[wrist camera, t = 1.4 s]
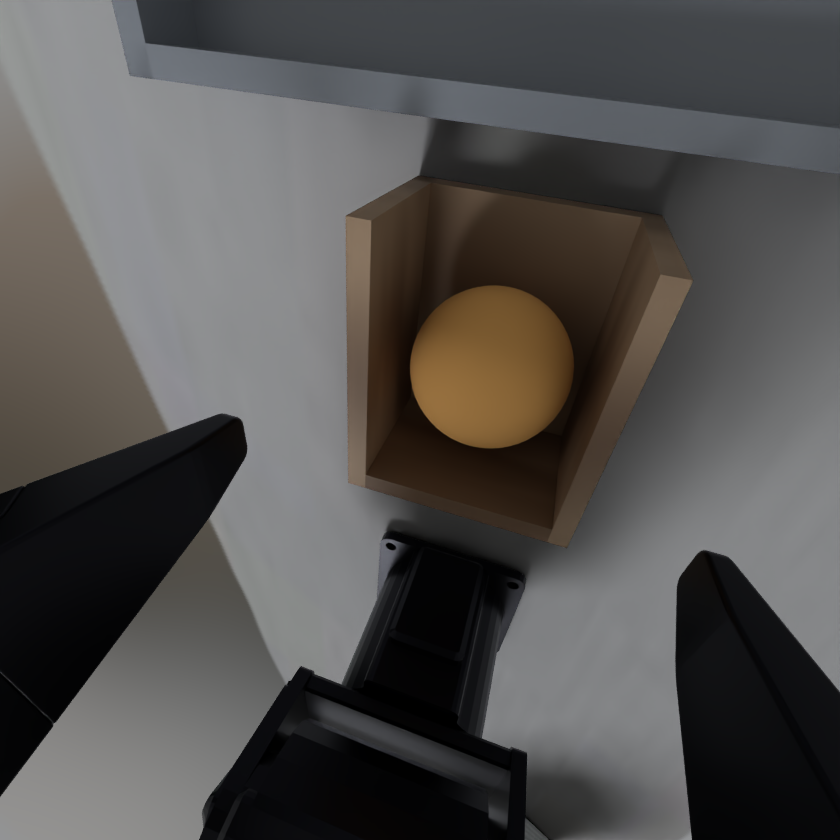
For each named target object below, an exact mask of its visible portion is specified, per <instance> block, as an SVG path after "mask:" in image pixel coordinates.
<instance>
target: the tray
mask: <svg viewBox="0 0 840 840" xmlns="http://www.w3.org/2000/svg"><path fill="white" fill-rule="evenodd" d="M112 4H113V8H114V12H115V16H116V20H117V24H118V28H119V33H120V37H121V41H122V45H123V49H124V53H125V57H126V61H127V66H128V70H129V74H130V76H136V77H143V78H150V79H157V80H165V81H172V82H179V83H186V84H193V85H201V86H208V87H215V88H222V89H229V90H236V91H244V92H251V93H258V94H265V95H272V96H280V97H287V98H294V99H301V100H308V101H316V102H323V103H330V104H337V105H344V106H351V107H359V108H366V109H373V110H380V111H387V112H395V113H402V114H409V115H416V116H423V117H431V118H438V119H445V120H452V121H459V122H466V123H474V124H481V125H488V126H495V127H502V128H510V129H517V130H524V131H531V132H538V133H546V134H553V135H560V136H567V137H574V138H581V139H589V140H596V141H603V142H610V143H617V144H625V145H632V146H639V147H646V148H653V149H661V150H668V151H675V152H682V153H689V154H696V155H704V156H711V157H718V158H725V159H732V160H740V161H747V162H754V163H761V164H768V165H775V166H783V167H790V168H797V169H804V170H811V171H819V172H826V173H833V174H840V0H112Z"/></svg>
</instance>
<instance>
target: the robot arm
mask: <svg viewBox="0 0 840 840" xmlns="http://www.w3.org/2000/svg"><path fill="white" fill-rule="evenodd" d="M246 454H247V442H246V437H245V432H244V426H243V422H242V421H241V419H240V418H238V417H235V416H231V415H228V414H218V415H215V416H212V417H210V418H207V419H204V420H201V421H199V422H196V423H193V424H190V425H188V426H185V427H182V428H179V429H177V430H174V431H171V432H168V433H166V434H163V435H160V436H158V437H155V438H152V439H150V440H147V441H144V442H141V443H138V444H136V445H133V446H130V447H127V448H125V449H122V450H119V451H117V452H114V453H111V454H108V455H106V456H103V457H100V458H97V459H95V460H92V461H89V462H86V463H84V464H81V465H78V466H75V467H73V468H70V469H67V470H64V471H62V472H59V473H56V474H53V475H51V476H48V477H45V478H43V479H40V480H37V481H34V482H32V483H29V484H27V485H26V486H25V487H24V486H20V487H18V488H15V489H12V490H9V491H7V492H4V493H1V494H0V796H1V795H2V794H3V792H4V791H5V790H6V788H7V787H8V786H9V784H10V783H11V782H12V780H13V779H14V778H15V776H16V775H17V774H18V772H19V771H20V770H21V769H22V767H23V766H24V764H25V763H26V762H27V760H28V759H29V758H30V756H31V755H32V754H33V753H34V751H35V750H36V749H37V747H38V746H39V745H40V743H41V742H42V740H43V739H44V738H45V737H46V735H47V734H48V733H49V731H50V730H51V729H52V727H53V723H55V722H56V721H57V720H58V719H59V717H60V716H61V714H62V713H63V712H64V711H65V709H66V708H67V707H68V705H69V704H70V703H71V701H72V700H73V699H74V697H75V696H76V695H77V693H78V692H79V691H80V689H81V688H82V687H83V685H84V684H85V683H86V681H87V680H88V678H89V677H90V676H91V675H92V673H93V672H94V671H95V669H96V668H97V667H98V665H99V664H100V663H101V661H102V660H103V659H104V657H105V656H106V655H107V653H108V652H109V651H110V649H111V648H112V647H113V645H114V644H115V643H116V641H117V640H118V639H119V637H120V636H121V635H122V633H123V632H124V631H125V629H126V628H127V627H128V625H129V624H130V623H131V621H132V620H133V619H134V617H135V616H136V615H137V613H138V612H139V611H140V609H141V608H142V607H143V605H144V604H145V603H146V601H147V600H148V599H149V597H150V596H151V595H152V593H153V592H154V591H155V589H156V588H157V587H158V585H159V584H160V583H161V581H162V580H163V579H164V577H165V576H166V575H167V573H168V572H169V571H170V569H171V568H172V567H173V565H174V564H175V563H176V561H177V560H178V559H179V557H180V556H181V555H182V553H183V552H184V551H185V549H186V548H187V547H188V545H189V544H190V543H191V541H192V540H193V539H194V537H195V536H196V535H197V533H198V532H199V531H200V529H201V528H202V527H203V525H204V524H205V523H206V521H207V520H208V518H209V517H210V515H211V514H212V512H213V511H214V509H215V508H216V506H217V504H218V503H219V501H220V499H221V498H222V496H223V494H224V493H225V491H226V489H227V488H228V486H229V484H230V483H231V481H232V479H233V477H234V476H235V474H236V472H237V471H238V469H239V467H240V466H241V464H242V462H243V461H244V459H245V457H246ZM525 583H526V578H525V576H524V575H523V574H522V573H520V572H518V571H515V570H512V569H509V568H506V567H503V566H499V565H496V564H493V563H490V562H487V561H483V560H480V559H477V558H474V557H471V556H467V555H464V554H461V553H458V552H455V551H452V550H448V549H445V548H442V547H439V546H436V545H432V544H429V543H426V542H423V541H420V540H416V539H413V538H410V537H407V536H404V535H400V534H397V533H394V532H387V533H385V534H384V536H383V538H382V540H381V543H380V558H379V575H378V592H377V601H376V603H375V606H374V608H373V611H372V613H371V615H370V618H369V620H368V622H367V625H366V627H365V630H364V632H363V634H362V637H361V639H360V641H359V644H358V646H357V649H356V651H355V653H354V656H353V658H352V660H351V663H350V665H349V668H348V670H347V672H346V675H345V677H344V680H343V682H342V684H339V683H336V682H333V681H331V680H328V679H326V678H323V677H320V676H318V675H315V674H314V671H312V670H310V669H307V668H305V667H302V666H301V667H300V668H299V669H298V670H297V672H296V674H295V675H294V677H293V678H292V680H291V681H288V683H287V685H285V686H284V688H283V689H282V691H281V692H280V694H279V695H278V697H277V698H276V700H275V701H274V703H273V705H272V706H271V708H270V709H269V711H268V712H267V714H266V716H265V717H264V719H263V720H262V722H261V723H260V725H259V726H258V728H257V730H256V731H255V733H254V734H253V736H252V737H251V739H250V740H249V742H248V743H247V745H246V747H245V748H244V750H243V751H242V753H241V755H240V756H239V758H238V759H237V761H236V762H235V764H234V765H233V767H232V768H231V770H230V771H229V772H228V773H227V774H226V776H225V777H224V778H223V780H222V781H221V782H220V783H219V785H218V786H217V787H216V788H215V790H214V791H213V792H212V793H211V795H210V796H209V798H208V799H207V801H206V803H205V806H204V808H203V811H202V818H203V827H204V828H203V831H202V834H201V836H200V839H199V840H525V810H526V776H527V753H526V752H524V751H521V750H519V749H516V748H513V747H511V748H510V749H508V748H505V747H502V746H500V745H497V744H495V743H492V742H489V741H487V740H484V739H482V734H483V728H484V722H485V717H486V711H487V705H488V699H489V694H490V688H491V682H492V676H493V671H494V665H495V659H496V653H497V652H498V651H499V649H500V647H501V644H502V642H503V640H504V637H505V635H506V632H507V630H508V628H509V625H510V623H511V621H512V618H513V616H514V613H515V611H516V609H517V606H518V604H519V601H520V599H521V597H522V594H523V592H524V589H525ZM675 663H676V685H677V695H678V705H679V715H680V725H681V735H682V745H683V755H684V765H685V775H686V785H687V795H688V805H689V814H690V824H691V834H692V840H840V692H839V690H838V689H837V688H836V687H835V685H834V684H833V683H832V682H831V681H830V679H829V678H828V677H827V676H826V675H825V673H824V672H823V671H822V670H821V668H820V667H819V666H818V665H817V664H816V662H815V661H814V660H813V659H812V657H811V656H810V655H809V654H808V653H807V651H806V650H805V649H804V648H803V646H802V645H801V644H800V643H799V642H798V640H797V639H796V638H795V637H794V635H793V634H792V633H791V632H790V631H789V629H788V628H787V627H786V626H785V624H784V623H783V622H782V621H781V620H780V618H779V617H778V616H777V615H776V613H775V612H774V611H773V610H772V609H771V607H770V606H769V605H768V604H767V602H766V601H765V600H764V599H763V598H762V596H761V595H760V594H759V593H758V591H757V590H756V589H755V588H754V587H753V585H752V584H751V583H750V582H749V580H748V579H747V578H746V577H745V576H744V574H743V573H742V572H741V571H740V570H739V568H738V567H737V566H736V565H735V563H734V562H733V561H732V560H731V559H730V558H729V557H727V556H724V555H721V554H717V553H714V552H710V551H707V550H703V551H700V552H699V553H698V554H697V555H696V556H695V557H694V559H693V560H692V561H691V563H690V564H689V565H688V567H687V568H686V569H685V571H684V572H683V573H682V574H681V576H680V578H679V580H678V584H677V605H676V655H675Z"/></svg>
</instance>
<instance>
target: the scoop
mask: <svg viewBox="0 0 840 840" xmlns="http://www.w3.org/2000/svg"><path fill="white" fill-rule="evenodd" d="M692 282H693V279H692V277H691V274H690V272H689V270H688V268H687V266H686V264H685V262H684V260H683V258H682V255H681V253H680V251H679V249H678V247H677V245H676V243H675V241H674V239H673V237H672V234H671V232H670V230H669V228H668V226H667V224H666V222H665V220H664V218H663V215H657V214H651V213H645V212H639V211H633V210H626V209H620V208H614V207H608V206H602V205H596V204H590V203H584V202H578V201H571V200H565V199H559V198H553V197H547V196H541V195H535V194H529V193H523V192H517V191H510V190H504V189H498V188H492V187H486V186H480V185H474V184H468V183H462V182H455V181H449V180H443V179H437V178H431V177H425V176H417V177H415V178H414V179H412V180H410V181H408V182H406V183H404V184H403V185H401V186H399V187H397V188H395V189H394V190H392V191H390V192H388V193H386V194H385V195H383V196H381V197H379V198H377V199H375V200H374V201H372V202H370V203H368V204H366V205H365V206H363V207H361V208H359V209H357V210H356V211H354V212H352V213H350V214H348V215H346V295H347V396H348V483H351V484H354V485H357V486H361V487H364V488H367V489H371V490H374V491H378V492H381V493H384V494H388V495H391V496H394V497H398V498H401V499H404V500H408V501H411V502H414V503H418V504H421V505H424V506H428V507H431V508H434V509H438V510H441V511H444V512H448V513H451V514H454V515H458V516H461V517H465V518H468V519H471V520H475V521H478V522H481V523H485V524H488V525H491V526H495V527H498V528H501V529H505V530H508V531H511V532H515V533H518V534H521V535H525V536H528V537H531V538H535V539H538V540H542V541H545V542H548V543H552V544H555V545H558V546H562V547H565V548H567V547H568V545H569V542H570V540H571V538H572V536H573V534H574V532H575V530H576V528H577V525H578V523H579V521H580V519H581V517H582V515H583V513H584V511H585V509H586V506H587V504H588V502H589V500H590V498H591V496H592V494H593V492H594V490H595V487H596V485H597V483H598V481H599V479H600V477H601V475H602V473H603V471H604V468H605V466H606V464H607V462H608V460H609V458H610V456H611V454H612V452H613V449H614V447H615V445H616V443H617V441H618V439H619V437H620V435H621V433H622V430H623V428H624V426H625V424H626V422H627V420H628V418H629V416H630V413H631V411H632V409H633V407H634V405H635V403H636V401H637V399H638V397H639V394H640V392H641V390H642V388H643V386H644V384H645V382H646V380H647V378H648V375H649V373H650V371H651V369H652V367H653V365H654V363H655V361H656V359H657V356H658V354H659V352H660V350H661V348H662V346H663V344H664V342H665V340H666V337H667V335H668V333H669V331H670V329H671V327H672V325H673V323H674V321H675V318H676V316H677V314H678V312H679V310H680V308H681V306H682V304H683V301H684V299H685V297H686V295H687V293H688V291H689V289H690V287H691V285H692ZM488 285H499V286H507V287H512V288H516V289H519V290H522V291H524V292H527V293H529V294H531V295H533V296H534V297H536V298H538V299H539V300H541V301H542V302H543V303H545V304H546V305H547V306H548V307H549V308H550V309H551V310H552V311H553V312H554V313H555V314H556V315H557V317H558V318H559V320H560V321H561V323H562V324H563V326H564V328H565V330H566V332H567V334H568V337H569V339H570V342H571V345H572V350H573V356H574V372H573V381H572V385H571V389H570V392H569V395H568V397H567V400H566V402H565V403H564V405H563V407H562V409H561V410H560V412H559V413H558V415H557V416H556V417H555V419H554V420H553V421H552V422H551V423H550V424H549V425H548V426H547V427H546V428H545V429H543V430H542V431H541V432H539V433H538V434H537V435H535V436H533V437H532V438H530V439H528V440H526V441H524V442H521V443H519V444H516V445H512V446H509V447H503V448H478V447H473V446H469V445H466V444H463V443H460V442H458V441H456V440H453V439H452V438H450V437H448V436H447V435H445V434H444V433H442V432H441V431H440V430H439V429H437V428H436V427H435V426H434V425H433V424H432V423H431V422H430V421H429V419H428V418H427V417H426V416H425V414H424V413H423V411H422V410H421V408H420V406H419V404H418V402H417V400H416V398H415V395H414V391H413V388H412V383H411V376H410V360H411V354H412V349H413V345H414V342H415V339H416V337H417V334H418V332H419V330H420V328H421V327H422V325H423V323H424V322H425V321H426V319H427V318H428V317H429V315H430V314H431V313H432V312H433V311H434V310H435V309H436V308H437V307H438V306H439V305H441V304H442V303H443V302H444V301H445V300H447V299H449V298H450V297H452V296H454V295H456V294H458V293H460V292H463V291H465V290H468V289H472V288H475V287H481V286H488Z"/></svg>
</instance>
